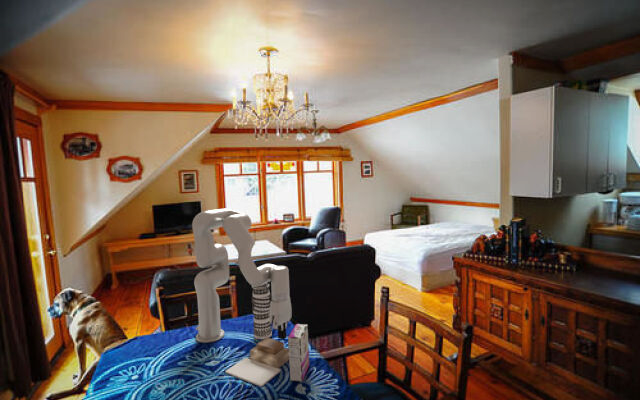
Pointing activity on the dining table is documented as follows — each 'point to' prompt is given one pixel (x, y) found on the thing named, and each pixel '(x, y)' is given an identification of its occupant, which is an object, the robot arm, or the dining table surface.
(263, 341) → the walnut tile
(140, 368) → the dining table surface
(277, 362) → the birch stand
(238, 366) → the off-white mat
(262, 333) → the decorative candle
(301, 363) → the candy bar box
